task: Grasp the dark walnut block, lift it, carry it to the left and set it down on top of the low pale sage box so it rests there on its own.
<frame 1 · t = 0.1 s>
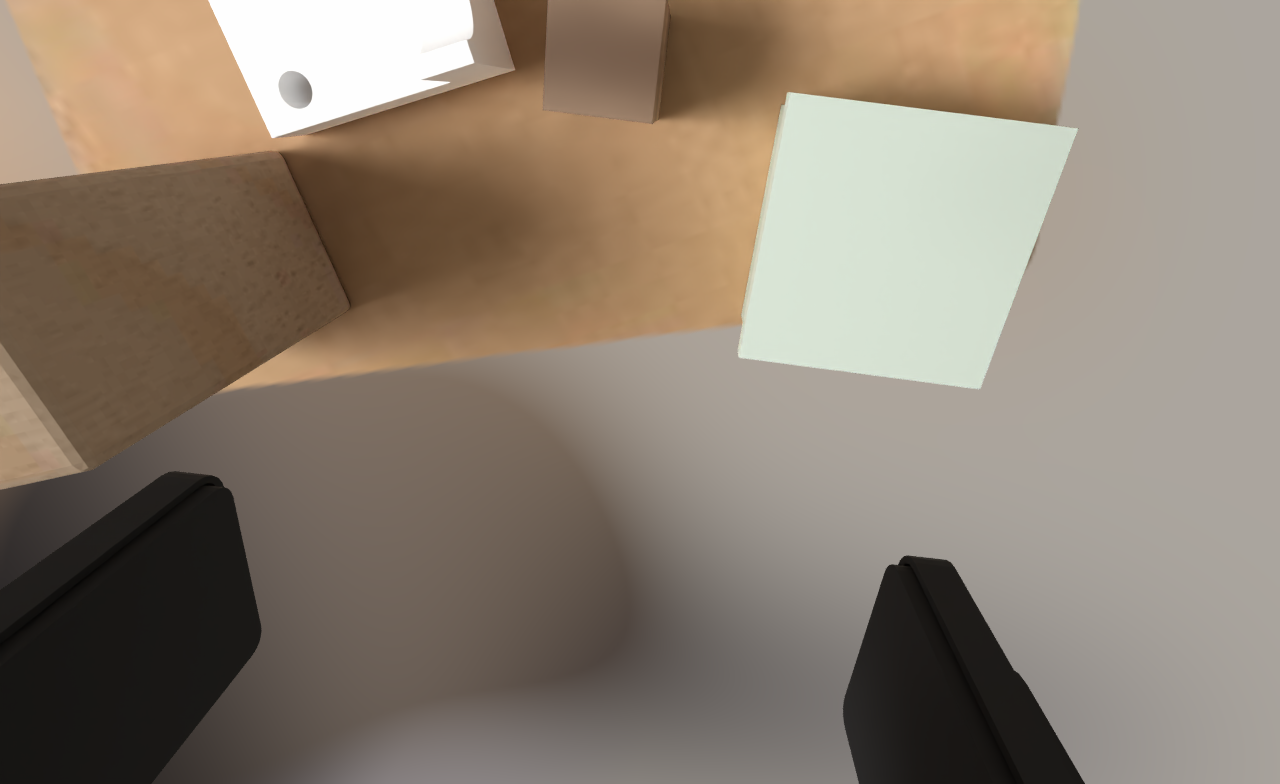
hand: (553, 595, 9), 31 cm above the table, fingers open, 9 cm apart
walnut block: (618, 63, 34), on the table
bracket: (384, 34, 35), on the table
sage box: (862, 230, 37), on the table
wooden block: (252, 250, 40), on the table
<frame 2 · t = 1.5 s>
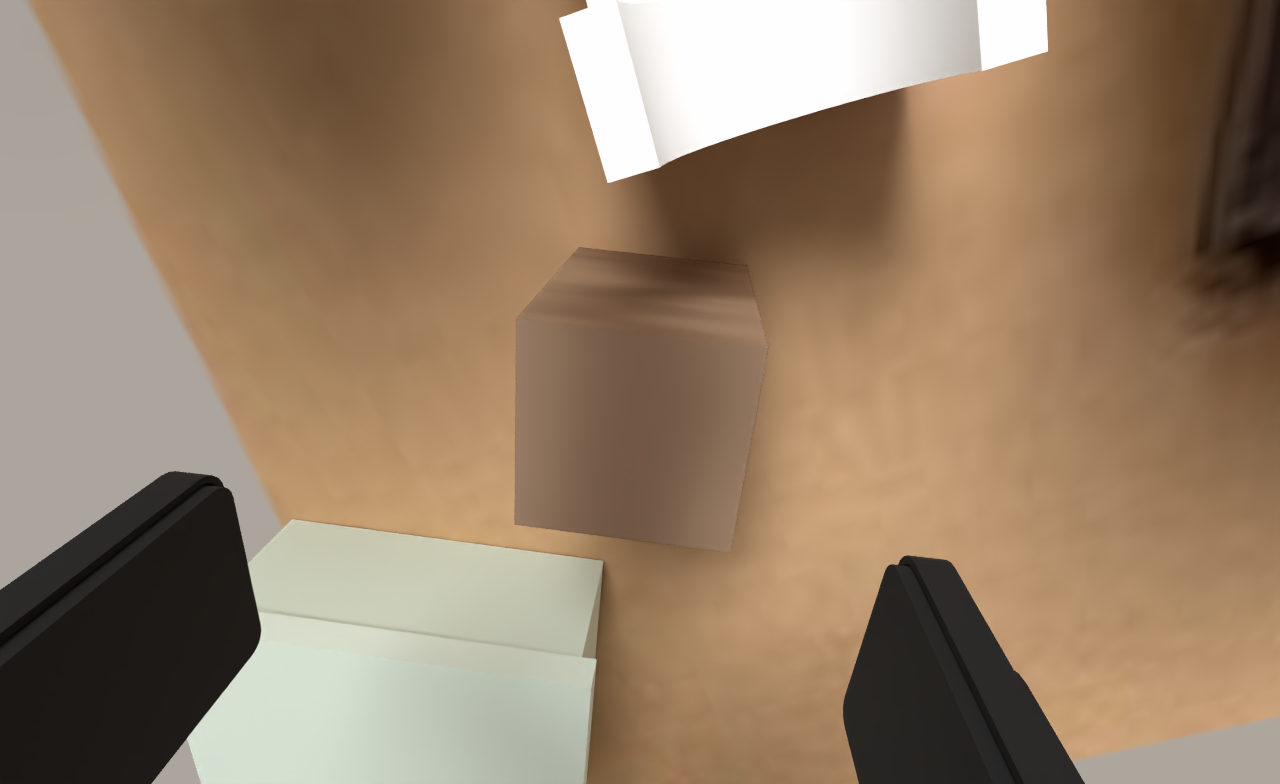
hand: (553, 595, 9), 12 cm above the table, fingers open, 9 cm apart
walnut block: (654, 335, 20), on the table
sage box: (451, 656, 26), on the table
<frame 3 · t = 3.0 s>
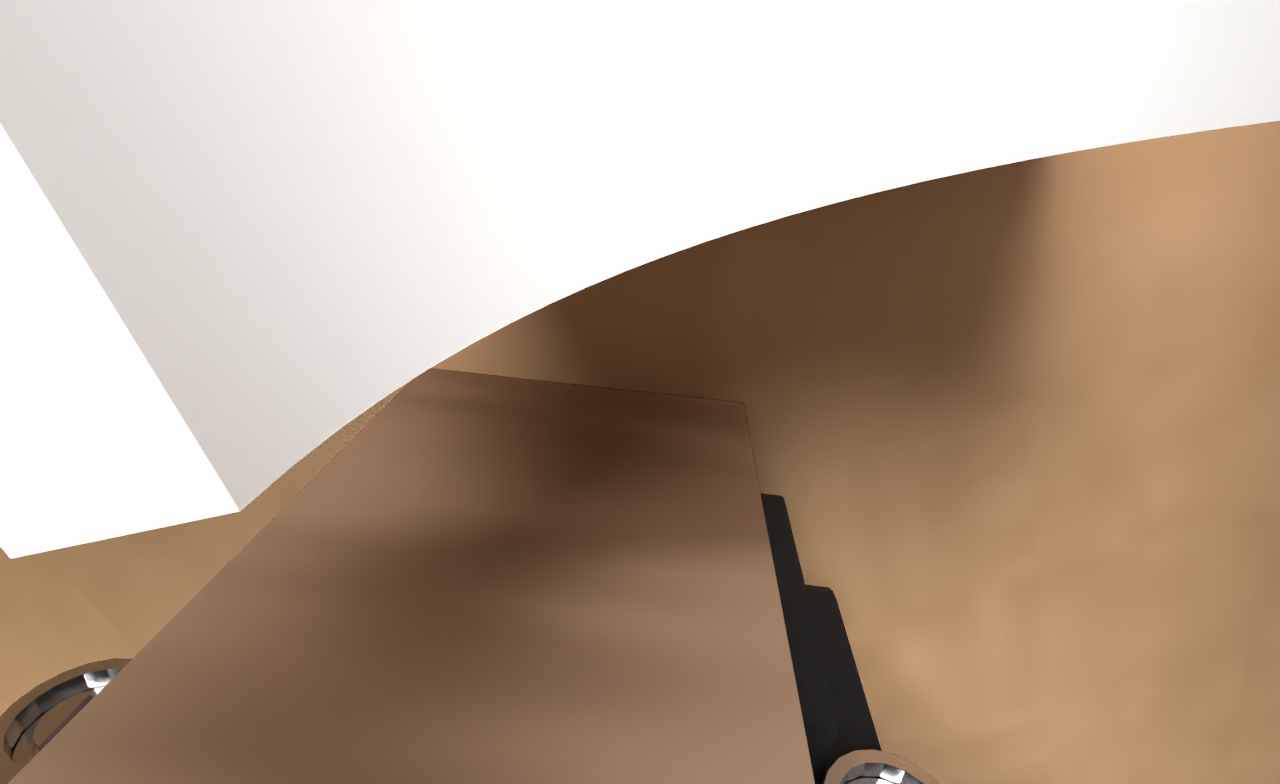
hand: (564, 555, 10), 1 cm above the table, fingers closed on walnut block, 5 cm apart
walnut block: (575, 517, 11), on the table, touching gripper
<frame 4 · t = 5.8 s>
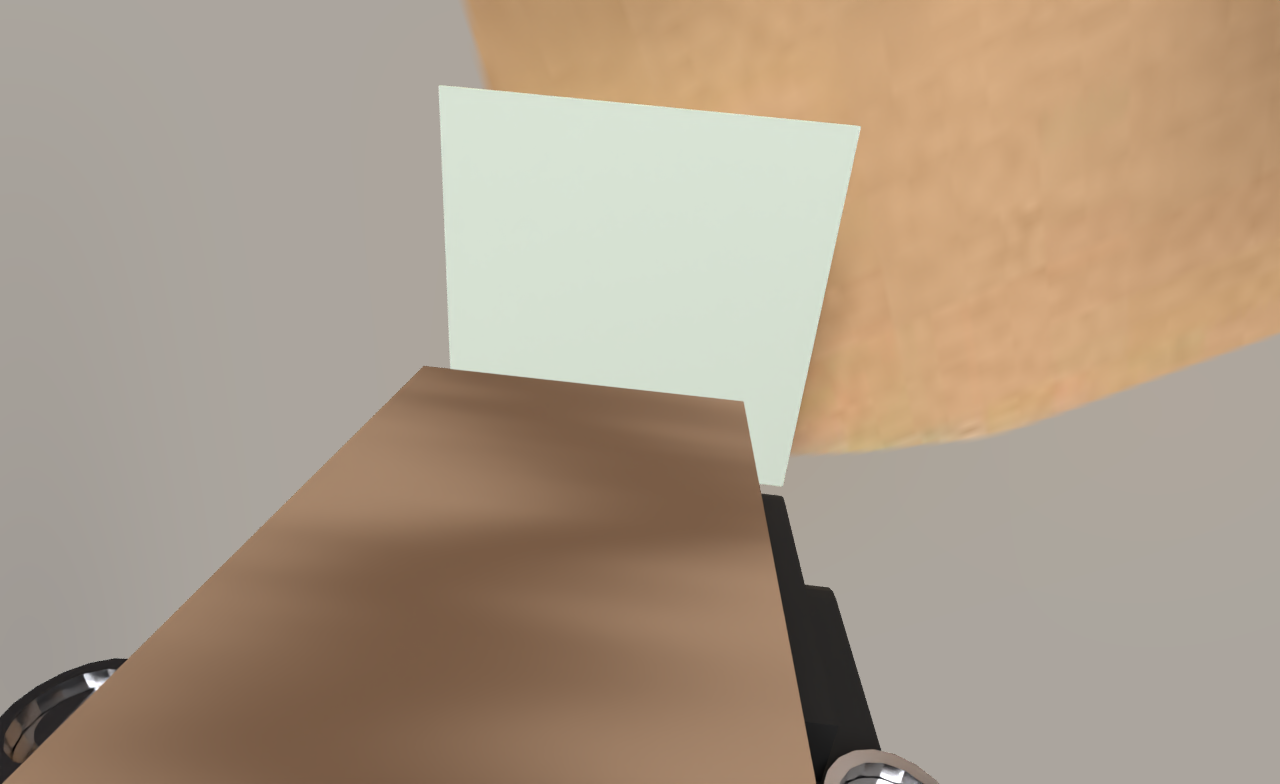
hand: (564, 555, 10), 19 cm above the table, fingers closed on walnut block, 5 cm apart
walnut block: (575, 516, 11), point 18 cm above the table, touching gripper
sage box: (641, 268, 28), on the table
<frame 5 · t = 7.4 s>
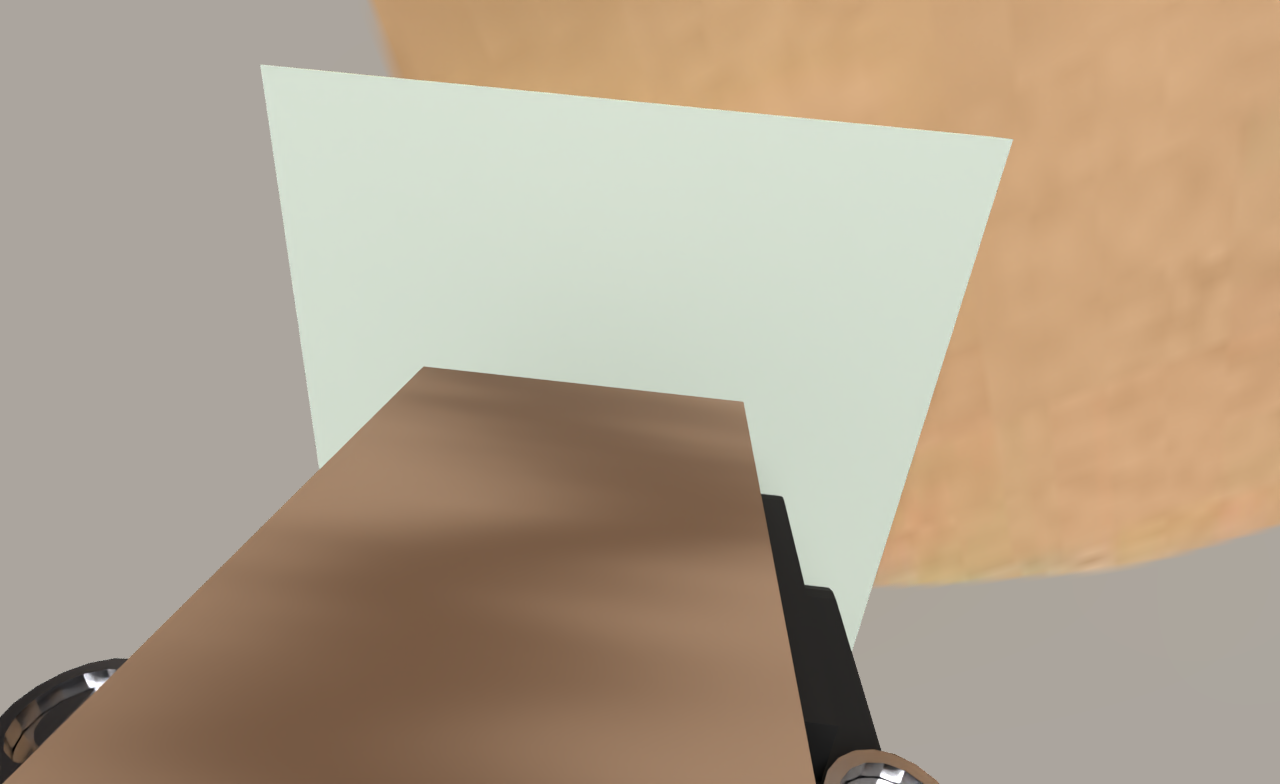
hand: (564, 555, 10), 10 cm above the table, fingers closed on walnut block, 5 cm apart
walnut block: (574, 516, 11), point 9 cm above the table, touching gripper
sage box: (629, 338, 19), on the table
when the fingers open (8 cm above the table, at t = 8.7 s): walnut block stays where it is, resting on sage box.
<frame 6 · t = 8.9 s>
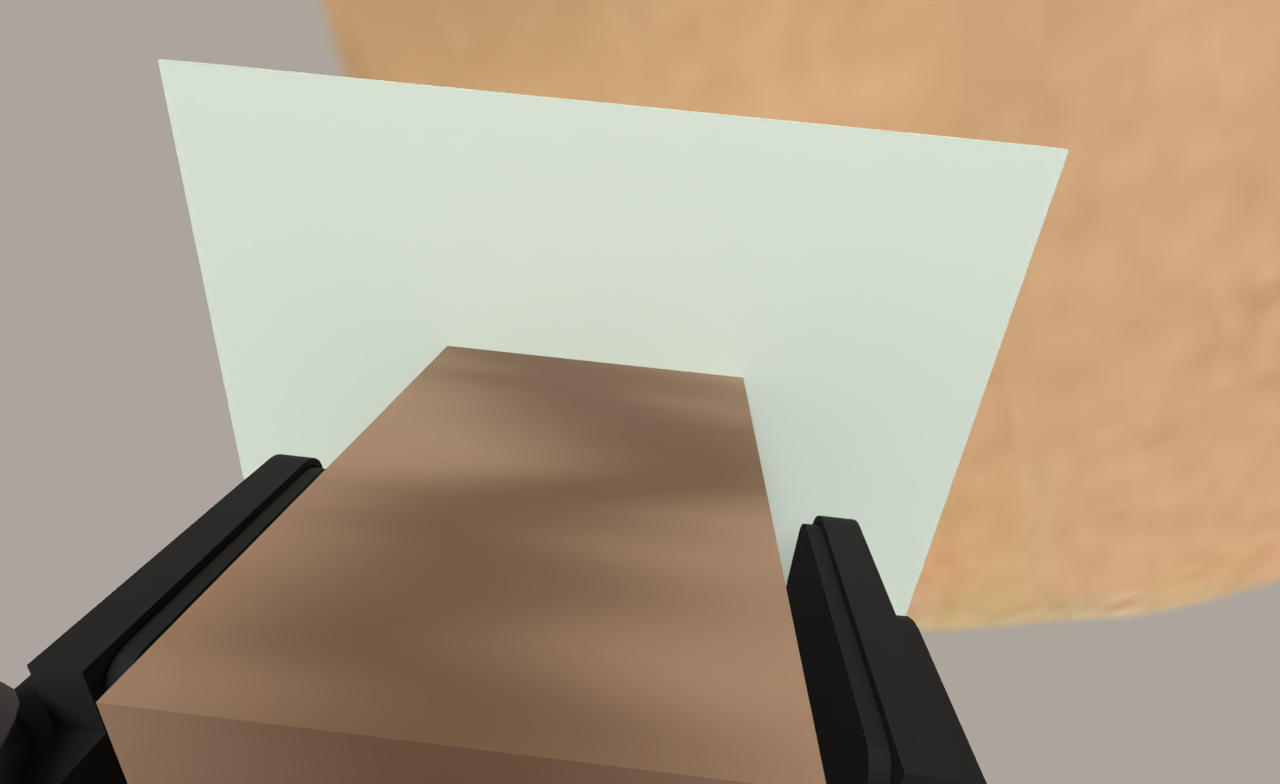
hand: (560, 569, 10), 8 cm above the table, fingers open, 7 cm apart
walnut block: (586, 486, 12), point 6 cm above the table, touching sage box
sage box: (615, 366, 17), on the table
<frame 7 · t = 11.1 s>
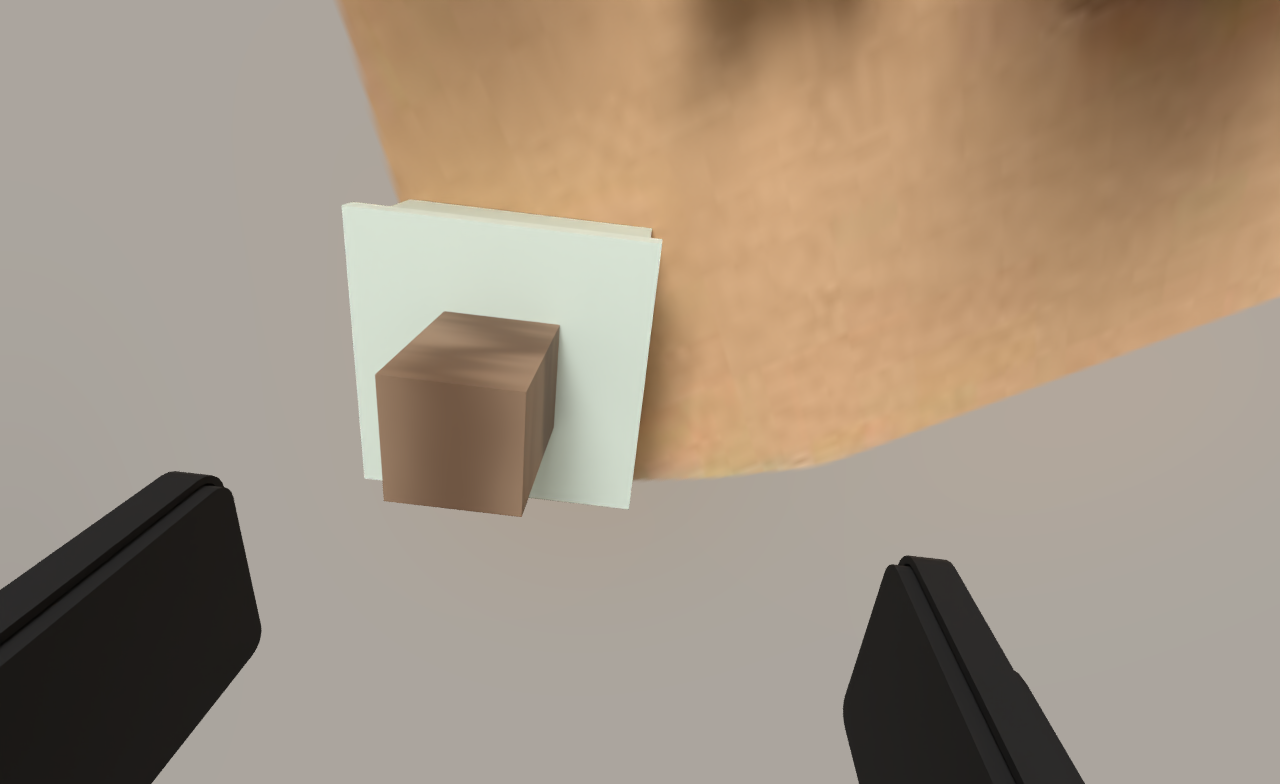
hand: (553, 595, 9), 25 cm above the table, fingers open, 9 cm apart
walnut block: (501, 371, 28), point 6 cm above the table, touching sage box
sage box: (526, 328, 34), on the table
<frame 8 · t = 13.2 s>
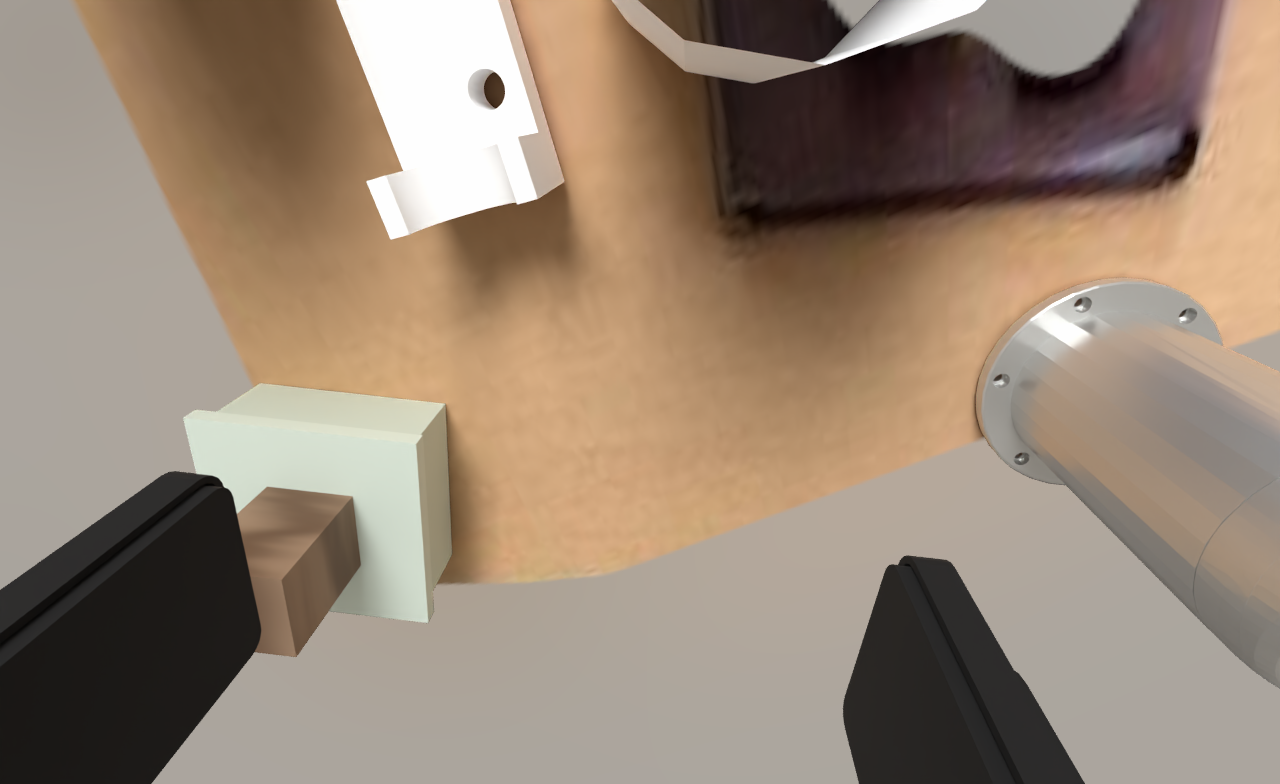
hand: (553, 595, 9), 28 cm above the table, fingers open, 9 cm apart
walnut block: (315, 526, 37), point 6 cm above the table, touching sage box
bracket: (465, 69, 33), on the table
sage box: (361, 473, 43), on the table
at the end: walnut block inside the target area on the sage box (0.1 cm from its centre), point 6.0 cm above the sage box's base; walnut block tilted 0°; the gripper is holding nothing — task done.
